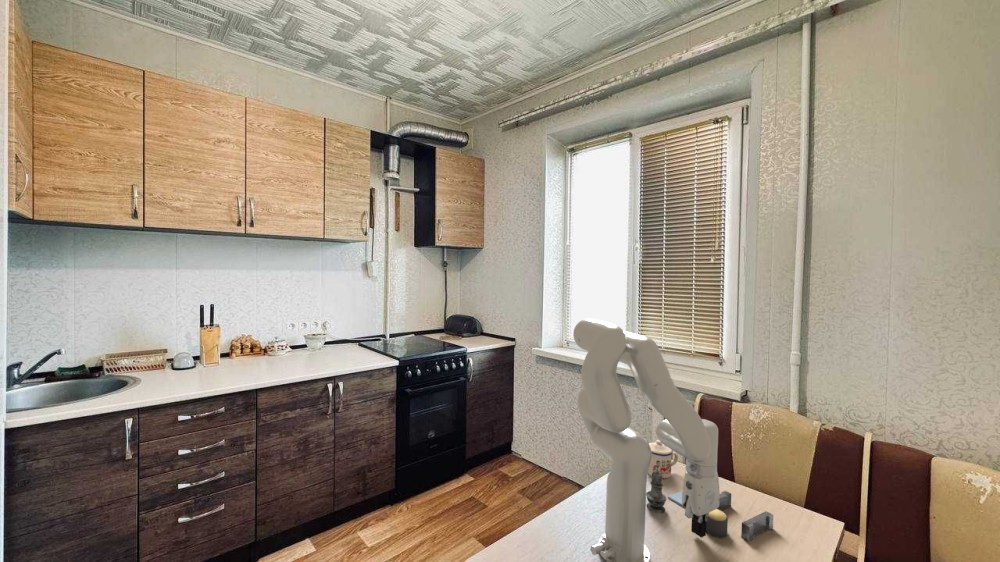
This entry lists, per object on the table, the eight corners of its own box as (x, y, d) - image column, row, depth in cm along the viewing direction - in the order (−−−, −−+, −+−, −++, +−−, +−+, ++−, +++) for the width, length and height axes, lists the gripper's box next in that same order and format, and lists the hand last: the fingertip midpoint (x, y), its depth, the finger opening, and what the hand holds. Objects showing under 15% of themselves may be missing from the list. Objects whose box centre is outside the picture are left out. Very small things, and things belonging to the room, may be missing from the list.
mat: (696, 515, 118) (696, 513, 118) (667, 497, 127) (667, 496, 127) (716, 506, 123) (716, 504, 123) (687, 490, 132) (687, 488, 132)
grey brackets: (748, 541, 107) (749, 526, 107) (700, 513, 119) (701, 500, 119) (772, 528, 113) (773, 514, 112) (724, 503, 125) (725, 490, 125)
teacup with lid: (653, 480, 138) (654, 446, 137) (639, 467, 147) (640, 436, 146) (684, 478, 140) (685, 445, 139) (669, 465, 148) (670, 434, 148)
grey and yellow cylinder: (718, 540, 107) (719, 522, 107) (698, 527, 112) (698, 510, 112) (731, 534, 110) (732, 516, 110) (711, 522, 115) (711, 505, 115)
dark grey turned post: (668, 515, 118) (669, 475, 117) (647, 512, 119) (648, 472, 119) (664, 503, 123) (665, 465, 123) (644, 501, 125) (645, 463, 124)
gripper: (696, 479, 100) (693, 551, 100) (731, 467, 107) (728, 533, 108) (670, 466, 107) (668, 533, 107) (705, 455, 114) (702, 518, 114)
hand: (698, 533), depth 107 cm, fingers closed
